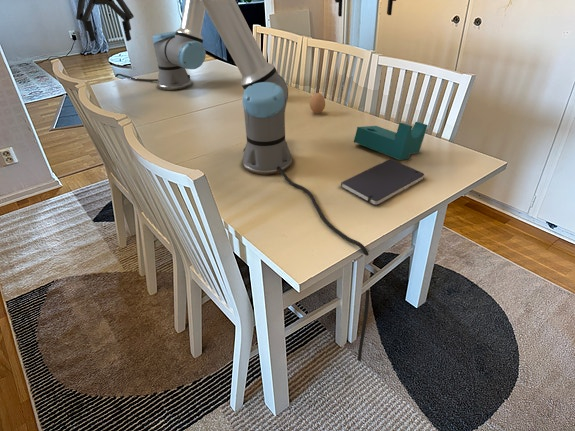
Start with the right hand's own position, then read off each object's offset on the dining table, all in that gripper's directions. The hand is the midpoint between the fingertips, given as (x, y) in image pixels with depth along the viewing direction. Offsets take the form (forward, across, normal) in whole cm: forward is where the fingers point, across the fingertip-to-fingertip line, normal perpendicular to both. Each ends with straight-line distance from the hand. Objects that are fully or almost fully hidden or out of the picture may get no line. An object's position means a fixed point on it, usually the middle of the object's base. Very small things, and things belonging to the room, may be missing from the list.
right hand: (364, 15), depth 112 cm
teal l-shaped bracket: (+40, +10, -3) cm, 41 cm away
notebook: (+40, +5, -25) cm, 47 cm away
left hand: (+12, -88, +33) cm, 95 cm away
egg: (+39, -11, +28) cm, 50 cm away
